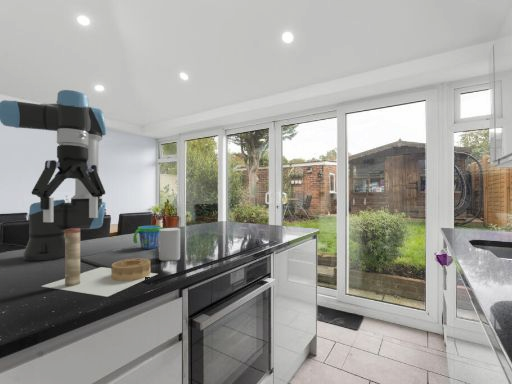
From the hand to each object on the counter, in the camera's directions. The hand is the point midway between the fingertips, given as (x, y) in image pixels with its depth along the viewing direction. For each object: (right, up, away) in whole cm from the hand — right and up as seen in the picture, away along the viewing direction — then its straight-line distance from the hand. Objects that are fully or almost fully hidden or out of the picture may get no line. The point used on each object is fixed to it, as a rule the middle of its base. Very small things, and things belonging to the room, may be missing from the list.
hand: (72, 219), depth 78 cm
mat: (+6, -19, +5) cm, 21 cm away
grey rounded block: (+18, -19, +31) cm, 41 cm away
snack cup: (+2, -19, +52) cm, 56 cm away
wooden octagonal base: (+13, -19, +9) cm, 24 cm away
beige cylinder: (0, -19, 0) cm, 19 cm away
